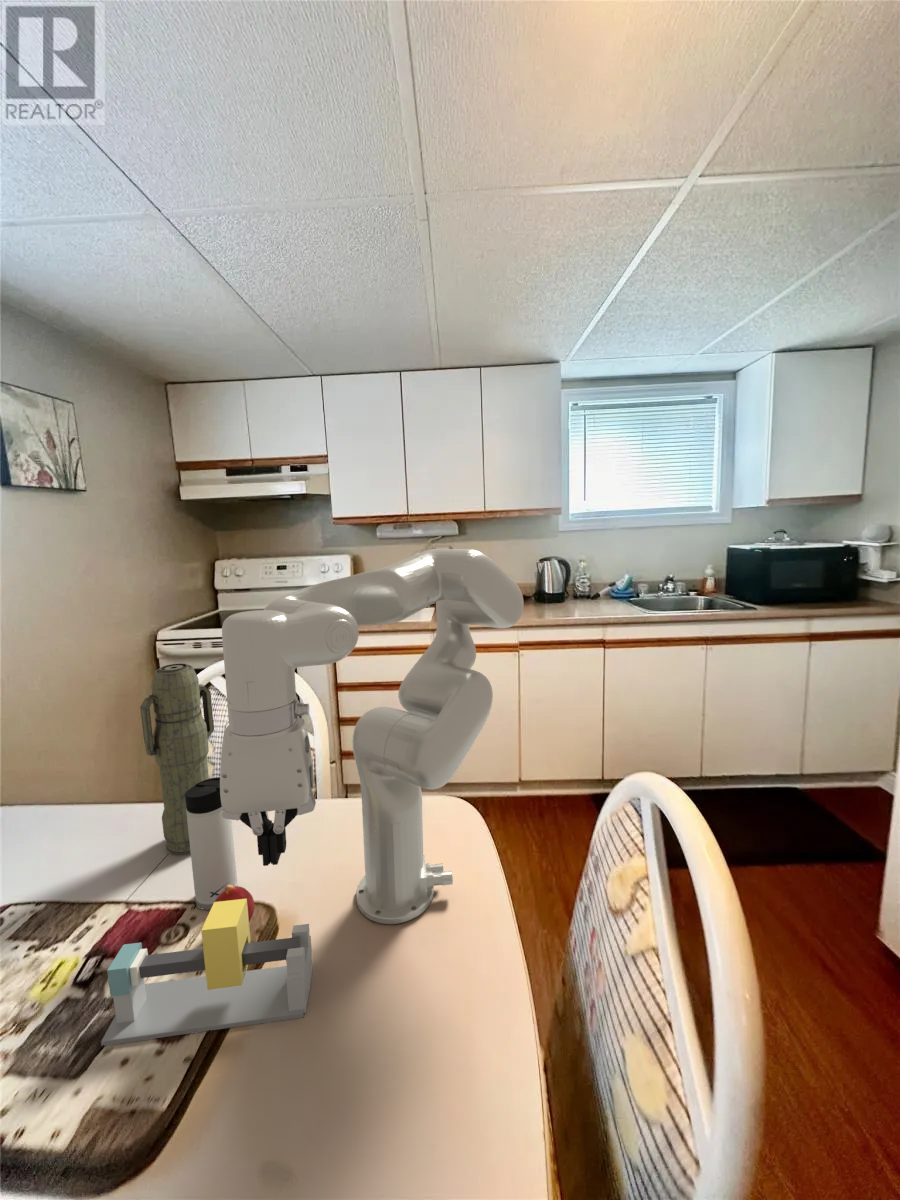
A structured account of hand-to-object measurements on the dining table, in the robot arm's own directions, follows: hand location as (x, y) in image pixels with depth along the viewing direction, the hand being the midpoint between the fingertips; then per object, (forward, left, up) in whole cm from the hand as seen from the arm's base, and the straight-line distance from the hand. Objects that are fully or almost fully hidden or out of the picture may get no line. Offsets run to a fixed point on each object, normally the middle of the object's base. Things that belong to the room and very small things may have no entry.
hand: (273, 857), depth 59 cm
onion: (+9, -11, -20) cm, 25 cm away
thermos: (+24, -35, -20) cm, 47 cm away
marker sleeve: (+6, 0, -15) cm, 17 cm away
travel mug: (+14, -19, -20) cm, 31 cm away
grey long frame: (+8, 0, -20) cm, 21 cm away
